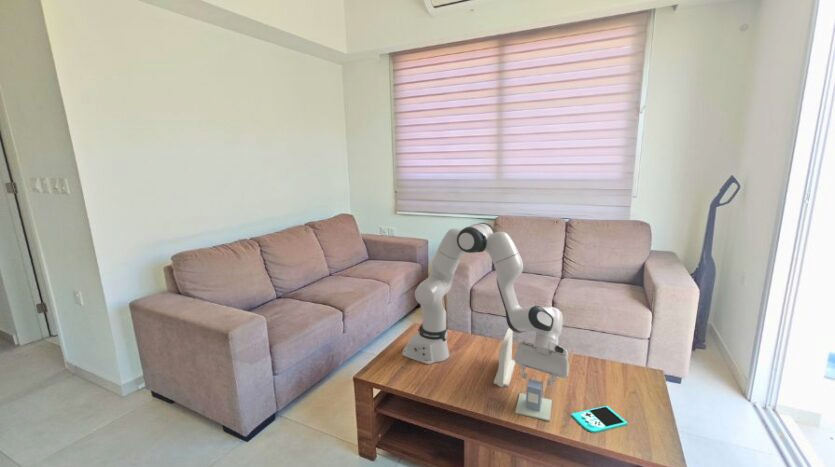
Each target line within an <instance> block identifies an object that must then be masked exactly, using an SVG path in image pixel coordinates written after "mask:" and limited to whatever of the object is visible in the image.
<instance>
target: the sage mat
mask: <svg viewBox="0 0 835 467" xmlns="http://www.w3.org/2000/svg"><path fill="white" fill-rule="evenodd" d="M552 402H553V400H552V399H549V398H544V397H542V405H541V408H540V412H539V411H536V410H532V409H529V408H526V393H521V392H519V395H518V399H517V404H516V407H515V414H517V415H521V416H525V417H526V416H527V417H530V418H534V419H538V420H542V421H546V422H550V421H551V412H552V411H551V410H552V405H553V404H552Z"/></svg>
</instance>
